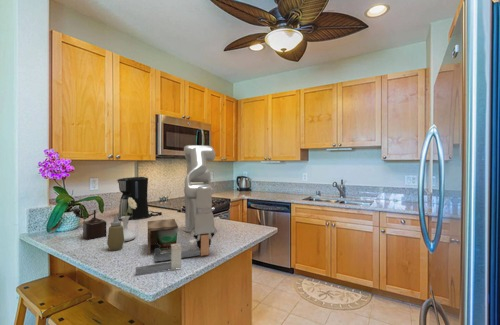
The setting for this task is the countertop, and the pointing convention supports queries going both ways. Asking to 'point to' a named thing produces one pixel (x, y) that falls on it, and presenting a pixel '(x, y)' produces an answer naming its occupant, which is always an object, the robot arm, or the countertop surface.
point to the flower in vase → (127, 233)
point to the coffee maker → (134, 197)
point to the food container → (167, 237)
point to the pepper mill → (92, 226)
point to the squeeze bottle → (115, 235)
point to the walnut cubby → (158, 226)
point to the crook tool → (187, 253)
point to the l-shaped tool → (164, 266)
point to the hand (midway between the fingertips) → (203, 246)
